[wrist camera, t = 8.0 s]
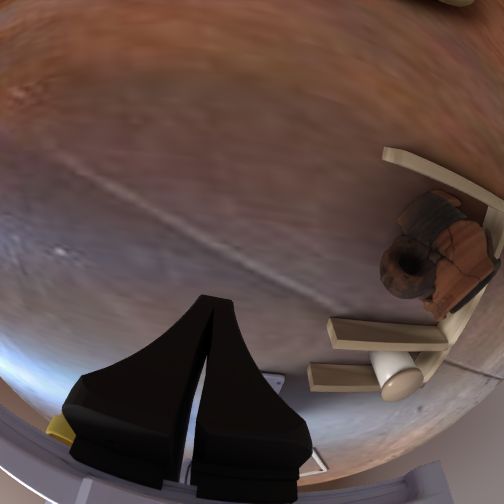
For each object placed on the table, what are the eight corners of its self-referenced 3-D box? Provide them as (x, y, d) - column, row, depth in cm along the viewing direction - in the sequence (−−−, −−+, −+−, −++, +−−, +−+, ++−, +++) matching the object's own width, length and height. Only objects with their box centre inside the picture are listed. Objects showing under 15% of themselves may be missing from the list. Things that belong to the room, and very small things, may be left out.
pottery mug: (462, 176, 18) (522, 242, 13) (428, 245, 25) (469, 305, 20) (364, 195, 16) (442, 299, 11) (338, 279, 24) (381, 360, 18)
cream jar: (392, 363, 26) (408, 400, 21) (360, 363, 26) (374, 403, 21) (410, 334, 24) (431, 371, 19) (377, 332, 24) (397, 373, 19)
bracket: (413, 370, 27) (422, 387, 24) (306, 369, 26) (310, 391, 23) (496, 199, 18) (515, 208, 15) (384, 146, 17) (403, 150, 14)
